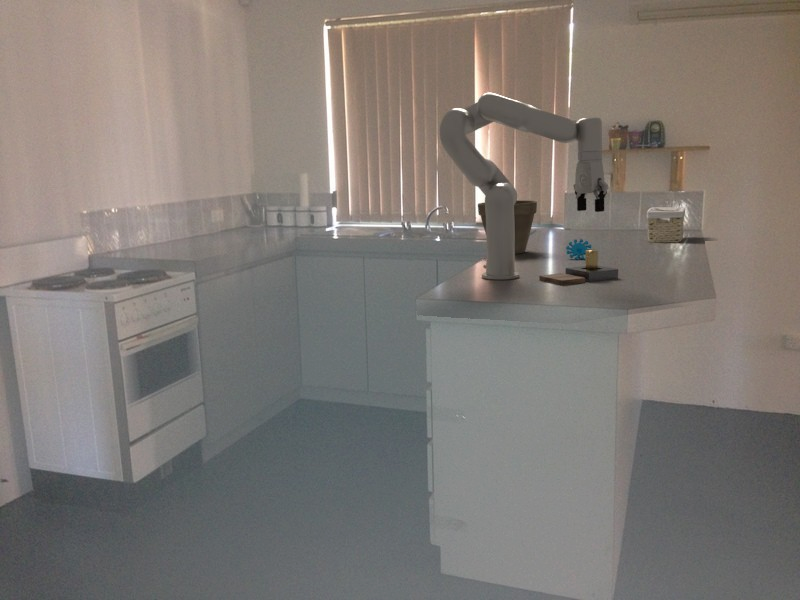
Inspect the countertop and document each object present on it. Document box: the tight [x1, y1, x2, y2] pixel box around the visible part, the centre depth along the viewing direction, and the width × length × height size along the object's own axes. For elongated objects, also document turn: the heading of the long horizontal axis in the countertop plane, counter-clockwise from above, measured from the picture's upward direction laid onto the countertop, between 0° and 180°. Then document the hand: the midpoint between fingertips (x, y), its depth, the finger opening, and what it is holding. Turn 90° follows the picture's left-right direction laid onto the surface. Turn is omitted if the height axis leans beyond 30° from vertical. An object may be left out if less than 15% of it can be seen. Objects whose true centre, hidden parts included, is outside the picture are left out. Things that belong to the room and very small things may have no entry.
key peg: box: [584, 249, 599, 270], centre depth 237 cm, size 4×4×9 cm
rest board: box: [538, 272, 586, 286], centre depth 232 cm, size 12×9×2 cm
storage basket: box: [646, 206, 686, 244], centre depth 334 cm, size 24×16×15 cm
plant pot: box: [477, 199, 538, 255], centre depth 307 cm, size 25×25×22 cm
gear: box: [565, 238, 596, 261], centre depth 284 cm, size 11×6×10 cm
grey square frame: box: [565, 265, 619, 282], centre depth 238 cm, size 12×12×3 cm
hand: (590, 211), depth 232 cm, fingers open, 9 cm apart
